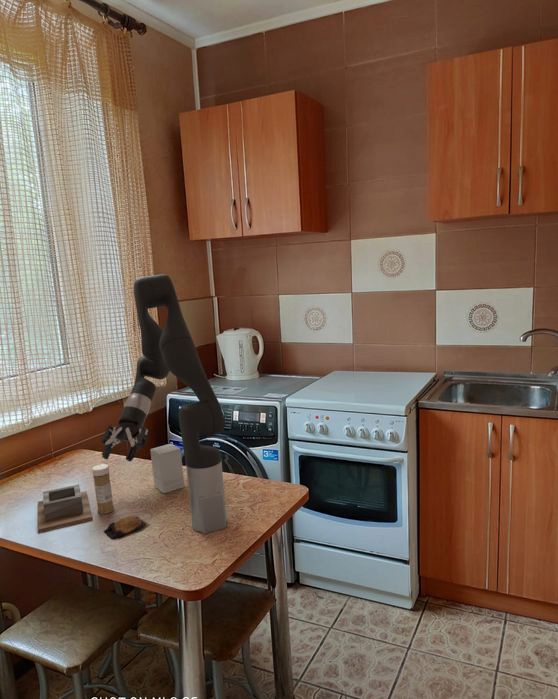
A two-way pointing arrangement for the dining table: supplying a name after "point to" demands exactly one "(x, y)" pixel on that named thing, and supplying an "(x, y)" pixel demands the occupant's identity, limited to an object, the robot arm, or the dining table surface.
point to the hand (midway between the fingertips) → (116, 459)
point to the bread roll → (125, 527)
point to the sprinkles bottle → (103, 488)
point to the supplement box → (167, 468)
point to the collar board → (63, 508)
